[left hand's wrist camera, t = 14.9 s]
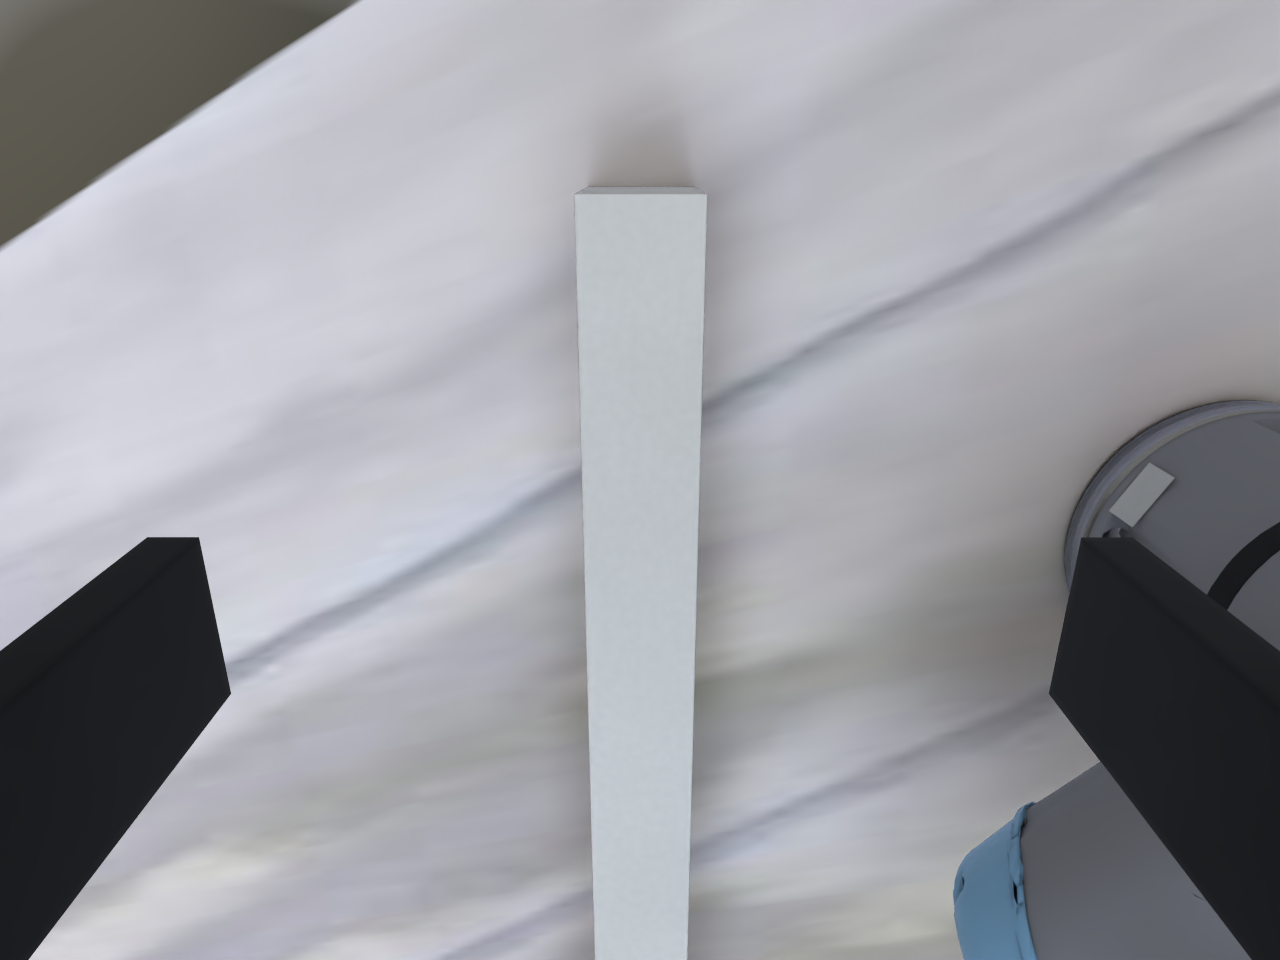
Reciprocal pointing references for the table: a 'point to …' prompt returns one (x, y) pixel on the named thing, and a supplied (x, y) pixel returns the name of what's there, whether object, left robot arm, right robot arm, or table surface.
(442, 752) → the table surface
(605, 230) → the beam
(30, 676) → the left robot arm
